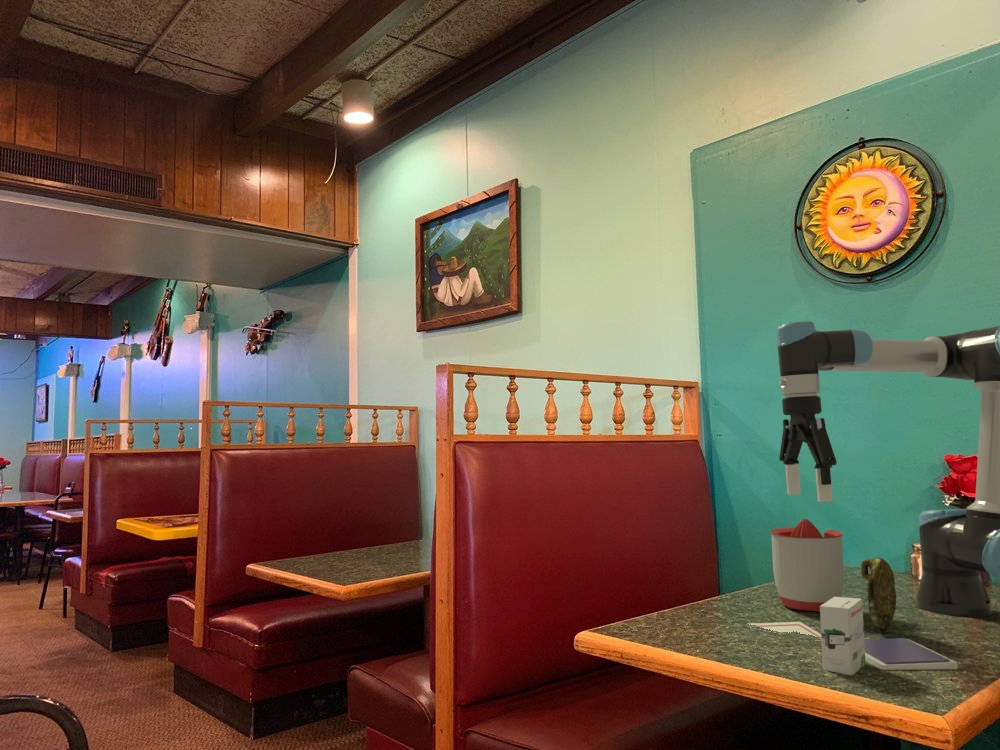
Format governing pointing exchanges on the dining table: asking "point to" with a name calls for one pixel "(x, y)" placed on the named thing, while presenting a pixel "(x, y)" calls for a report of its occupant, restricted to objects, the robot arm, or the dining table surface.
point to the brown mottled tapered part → (880, 592)
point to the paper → (788, 628)
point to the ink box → (842, 635)
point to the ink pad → (904, 655)
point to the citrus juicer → (807, 565)
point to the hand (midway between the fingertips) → (809, 498)
